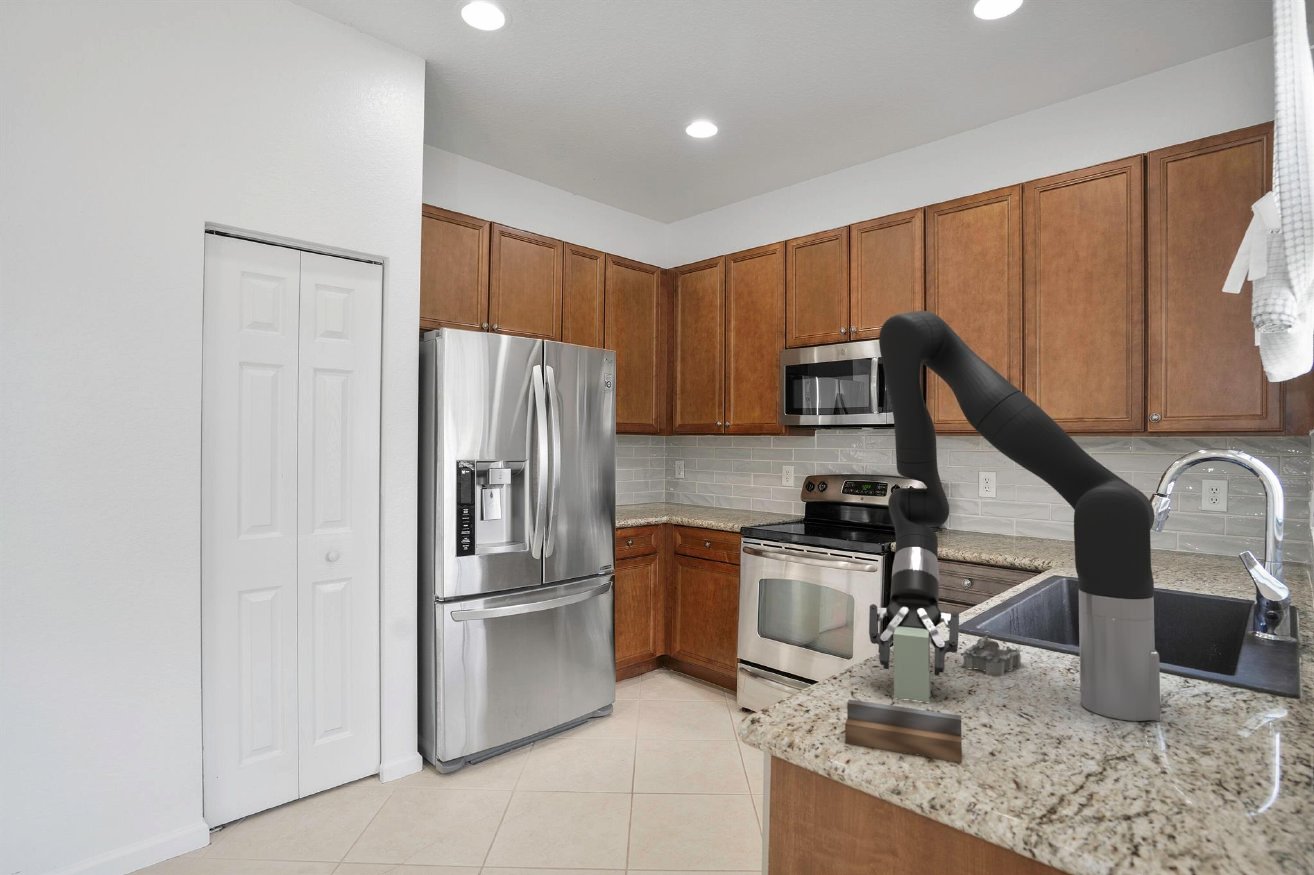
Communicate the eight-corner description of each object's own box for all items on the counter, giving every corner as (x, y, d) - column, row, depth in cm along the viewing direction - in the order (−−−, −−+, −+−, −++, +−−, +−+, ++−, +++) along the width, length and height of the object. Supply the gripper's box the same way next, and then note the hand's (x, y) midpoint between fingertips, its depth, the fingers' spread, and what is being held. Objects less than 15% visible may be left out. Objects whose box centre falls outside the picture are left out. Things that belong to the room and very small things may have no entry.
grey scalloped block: (986, 656, 125) (986, 634, 125) (1028, 666, 119) (1028, 643, 119) (955, 667, 119) (955, 644, 119) (998, 678, 113) (998, 654, 113)
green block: (930, 692, 106) (929, 629, 106) (928, 703, 102) (928, 637, 102) (896, 688, 108) (896, 626, 108) (894, 698, 104) (893, 634, 104)
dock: (961, 729, 92) (961, 696, 92) (961, 762, 82) (961, 725, 83) (856, 713, 98) (856, 682, 98) (845, 742, 88) (844, 708, 88)
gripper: (869, 564, 115) (860, 652, 104) (960, 570, 109) (962, 664, 98) (873, 589, 120) (865, 675, 109) (961, 596, 114) (962, 688, 103)
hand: (911, 669), depth 104 cm, fingers open, 7 cm apart
